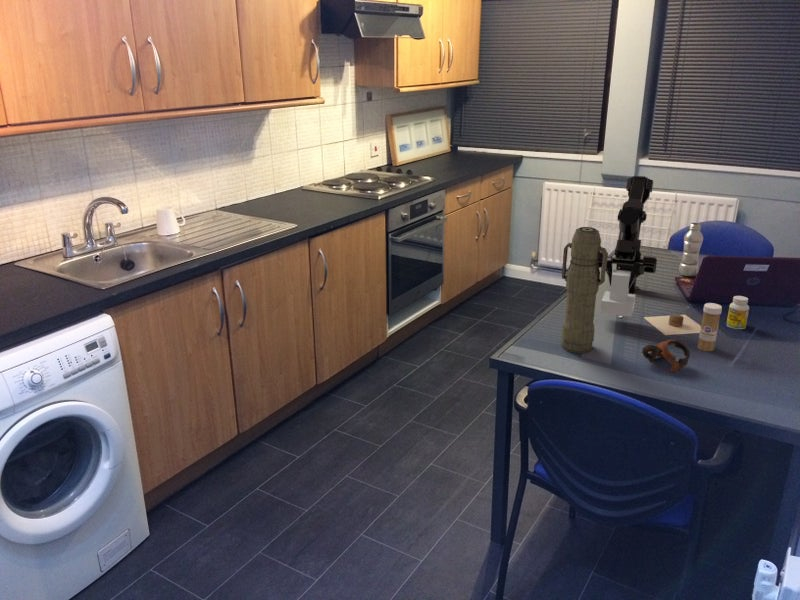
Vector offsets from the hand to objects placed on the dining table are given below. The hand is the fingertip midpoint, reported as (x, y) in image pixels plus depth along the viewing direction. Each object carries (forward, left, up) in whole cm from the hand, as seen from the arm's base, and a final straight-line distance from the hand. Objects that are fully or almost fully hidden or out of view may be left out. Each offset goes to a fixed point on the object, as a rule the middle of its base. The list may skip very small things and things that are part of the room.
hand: (619, 286), depth 195 cm
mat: (-11, +15, -13) cm, 23 cm away
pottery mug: (+18, +20, -13) cm, 30 cm away
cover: (-1, 0, -8) cm, 8 cm away
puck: (-11, +15, -13) cm, 22 cm away
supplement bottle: (-21, +30, -13) cm, 39 cm away
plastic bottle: (-63, +4, -13) cm, 65 cm away
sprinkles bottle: (+1, +27, -13) cm, 30 cm away
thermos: (+21, -3, -13) cm, 25 cm away
